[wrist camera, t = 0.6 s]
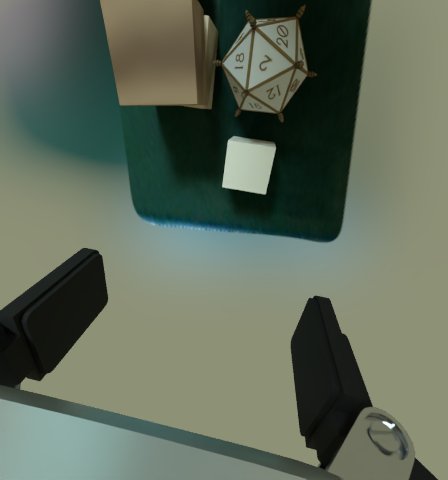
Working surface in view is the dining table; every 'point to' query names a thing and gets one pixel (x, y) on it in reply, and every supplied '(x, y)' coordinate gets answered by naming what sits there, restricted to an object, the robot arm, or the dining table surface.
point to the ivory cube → (248, 164)
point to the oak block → (209, 60)
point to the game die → (266, 64)
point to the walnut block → (157, 51)
